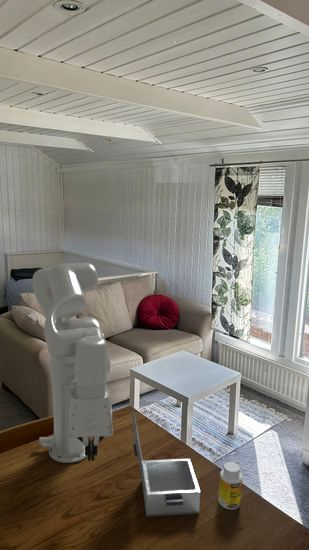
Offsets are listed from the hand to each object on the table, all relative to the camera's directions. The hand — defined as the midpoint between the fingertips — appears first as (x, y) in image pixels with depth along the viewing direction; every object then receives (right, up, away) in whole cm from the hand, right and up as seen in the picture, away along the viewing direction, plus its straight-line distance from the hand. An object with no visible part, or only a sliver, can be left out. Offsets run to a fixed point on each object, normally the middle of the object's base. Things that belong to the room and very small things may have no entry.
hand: (91, 457), depth 102 cm
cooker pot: (+19, -12, +4) cm, 23 cm away
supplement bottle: (+35, -13, +3) cm, 37 cm away
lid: (+12, +1, +1) cm, 12 cm away
